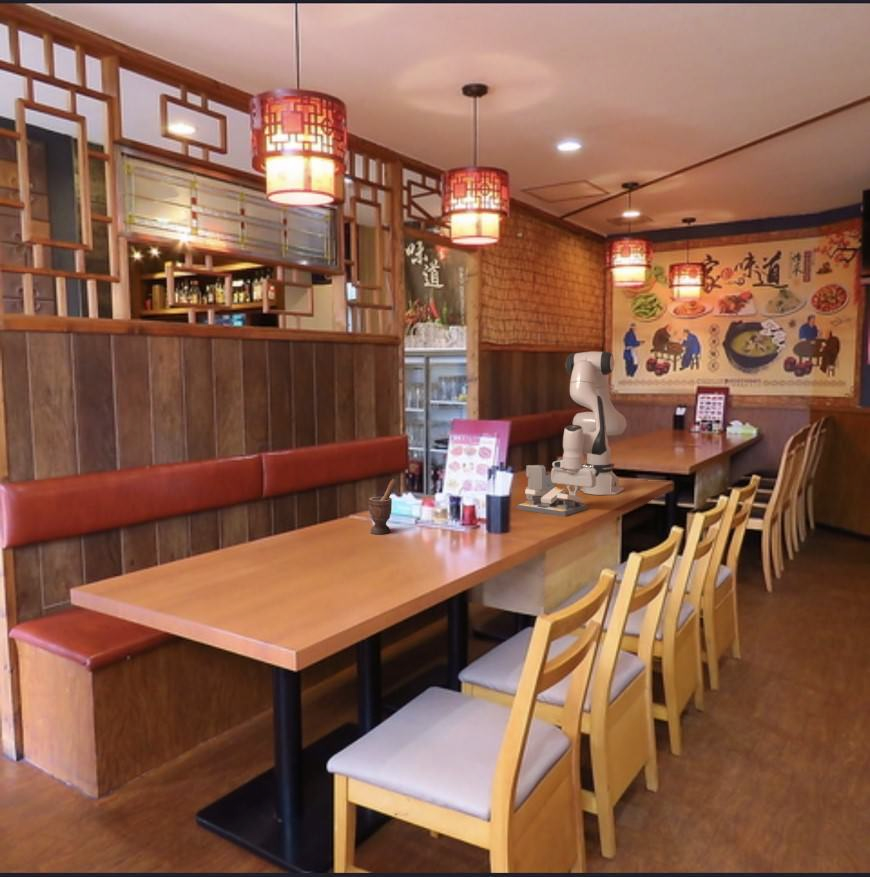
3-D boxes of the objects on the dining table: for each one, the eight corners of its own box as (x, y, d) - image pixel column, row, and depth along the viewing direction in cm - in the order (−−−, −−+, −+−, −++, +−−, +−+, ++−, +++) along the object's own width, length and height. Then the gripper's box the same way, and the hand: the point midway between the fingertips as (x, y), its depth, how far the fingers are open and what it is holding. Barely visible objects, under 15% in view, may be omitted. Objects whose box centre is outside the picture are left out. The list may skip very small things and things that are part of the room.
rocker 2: (555, 491, 324) (554, 486, 323) (565, 492, 320) (564, 488, 320) (541, 502, 315) (540, 497, 315) (551, 503, 312) (550, 499, 311)
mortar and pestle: (384, 527, 288) (383, 476, 286) (401, 529, 283) (400, 478, 281) (365, 533, 278) (363, 481, 276) (382, 536, 273) (381, 483, 271)
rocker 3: (570, 500, 318) (571, 495, 319) (581, 501, 315) (581, 496, 315) (556, 497, 309) (557, 492, 310) (567, 499, 306) (567, 493, 306)
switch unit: (539, 502, 332) (539, 492, 332) (586, 509, 316) (587, 498, 316) (517, 509, 318) (517, 498, 318) (565, 516, 303) (565, 505, 302)
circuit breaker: (558, 499, 339) (558, 467, 337) (527, 499, 339) (527, 467, 338) (556, 496, 346) (556, 465, 345) (526, 496, 347) (526, 465, 345)
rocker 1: (539, 496, 329) (540, 491, 329) (549, 497, 326) (549, 492, 326) (525, 493, 320) (525, 488, 320) (534, 494, 316) (535, 489, 317)
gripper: (598, 464, 308) (598, 497, 310) (556, 460, 322) (556, 491, 323) (591, 467, 304) (591, 499, 306) (549, 462, 317) (549, 493, 319)
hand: (573, 495), depth 315 cm, fingers closed, pressing on rocker 3
